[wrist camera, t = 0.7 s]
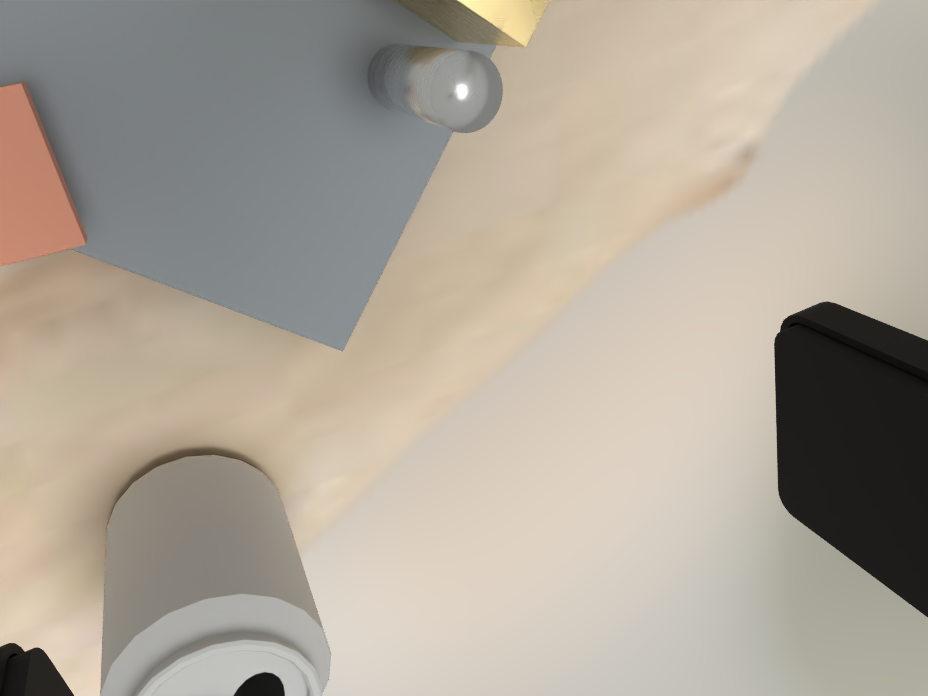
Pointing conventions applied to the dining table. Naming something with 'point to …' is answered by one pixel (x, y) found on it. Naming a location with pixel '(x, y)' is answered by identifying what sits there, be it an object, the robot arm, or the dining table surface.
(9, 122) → the pink t-shaped block
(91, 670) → the dining table surface
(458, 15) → the link
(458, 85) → the cylinder
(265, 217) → the base plate
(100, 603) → the dining table surface
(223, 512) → the can
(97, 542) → the dining table surface
